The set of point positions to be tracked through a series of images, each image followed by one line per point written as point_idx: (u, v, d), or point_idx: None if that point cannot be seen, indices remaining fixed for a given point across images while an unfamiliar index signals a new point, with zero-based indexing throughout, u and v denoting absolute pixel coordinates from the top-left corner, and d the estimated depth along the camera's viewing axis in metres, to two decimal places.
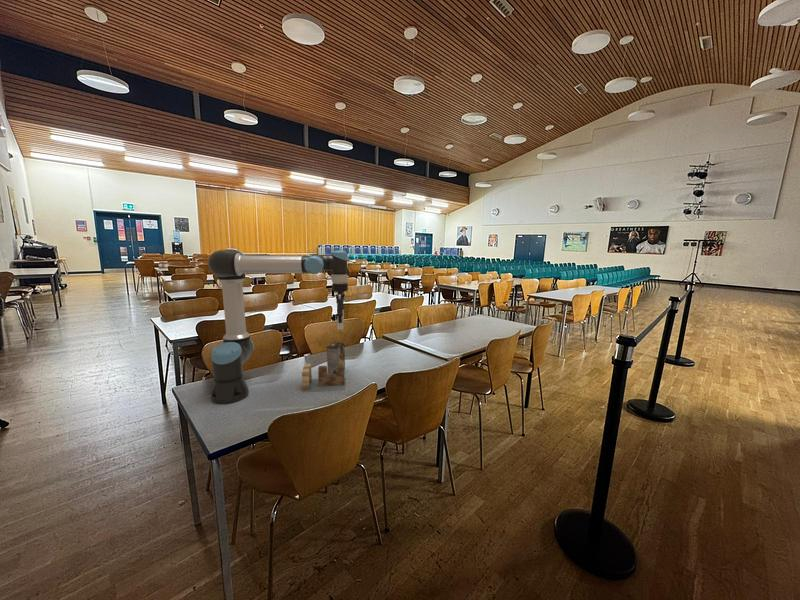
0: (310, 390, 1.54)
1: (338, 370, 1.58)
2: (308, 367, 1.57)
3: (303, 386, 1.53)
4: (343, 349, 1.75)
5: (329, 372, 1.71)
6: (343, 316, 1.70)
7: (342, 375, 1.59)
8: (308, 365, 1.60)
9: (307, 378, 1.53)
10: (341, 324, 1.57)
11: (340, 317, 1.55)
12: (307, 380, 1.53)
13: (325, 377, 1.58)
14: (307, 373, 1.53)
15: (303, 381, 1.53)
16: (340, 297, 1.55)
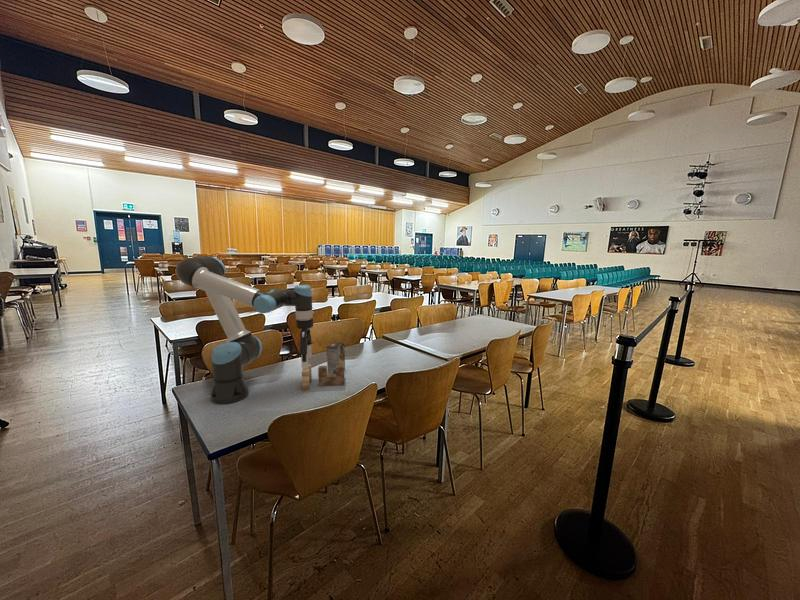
0: (310, 390, 1.54)
1: (338, 370, 1.58)
2: (308, 367, 1.57)
3: (303, 386, 1.53)
4: (343, 349, 1.75)
5: (329, 372, 1.71)
6: (311, 351, 1.63)
7: (342, 375, 1.59)
8: (308, 365, 1.60)
9: (307, 378, 1.53)
10: (306, 363, 1.49)
11: (304, 356, 1.48)
12: (307, 380, 1.53)
13: (325, 377, 1.58)
14: (307, 373, 1.53)
15: (303, 381, 1.53)
16: (304, 335, 1.47)
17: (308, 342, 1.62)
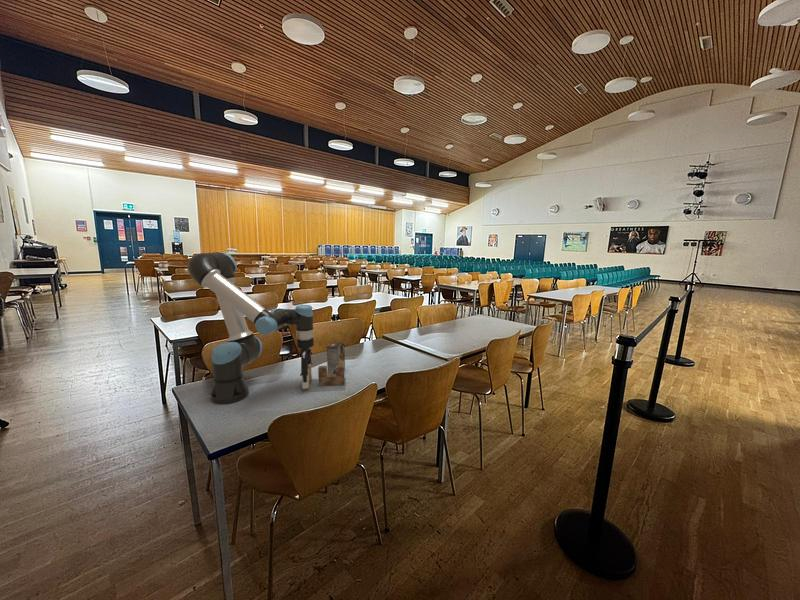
0: (310, 390, 1.54)
1: (338, 370, 1.58)
2: (308, 367, 1.57)
3: None
4: (343, 349, 1.75)
5: (329, 372, 1.71)
6: None
7: (342, 375, 1.59)
8: (308, 365, 1.60)
9: None
10: (306, 383, 1.53)
11: (305, 377, 1.51)
12: None
13: (325, 377, 1.58)
14: None
15: None
16: (304, 356, 1.49)
17: (308, 363, 1.62)
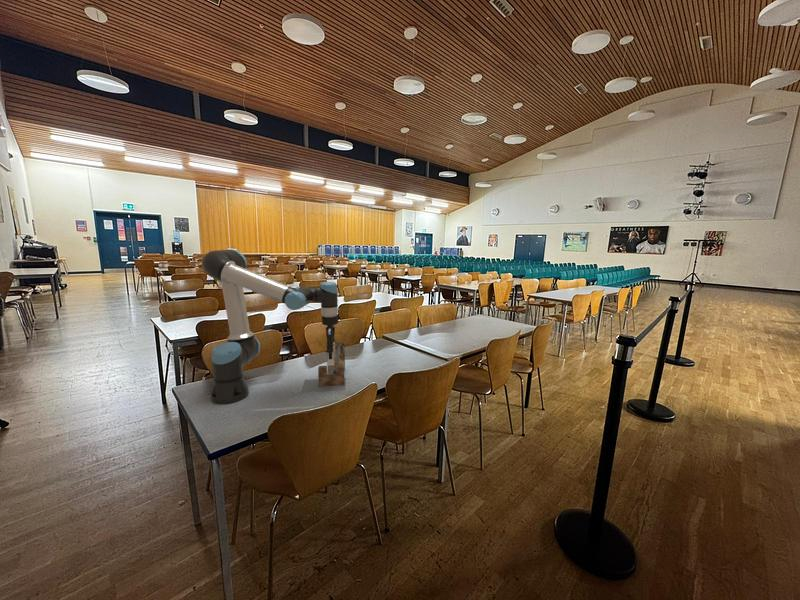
0: (310, 390, 1.54)
1: (338, 370, 1.58)
2: None
3: None
4: (343, 349, 1.75)
5: (329, 372, 1.71)
6: None
7: (342, 375, 1.59)
8: None
9: None
10: (331, 360, 1.52)
11: (330, 353, 1.50)
12: None
13: (325, 377, 1.58)
14: None
15: None
16: (330, 333, 1.49)
17: None
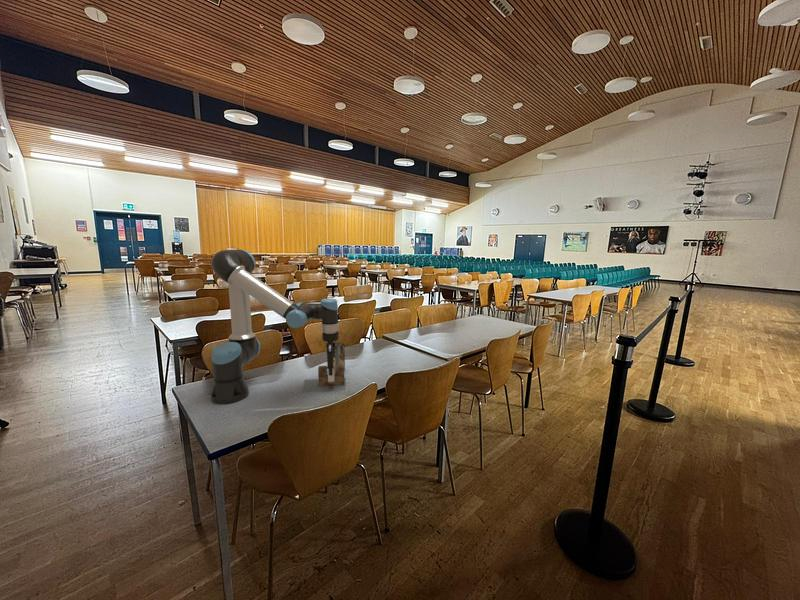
0: (310, 390, 1.54)
1: (338, 370, 1.58)
2: (333, 361, 1.58)
3: None
4: (343, 349, 1.75)
5: None
6: None
7: (342, 375, 1.59)
8: None
9: None
10: (332, 376, 1.54)
11: (331, 370, 1.52)
12: None
13: (325, 377, 1.58)
14: (333, 366, 1.54)
15: None
16: (330, 350, 1.50)
17: (332, 356, 1.63)
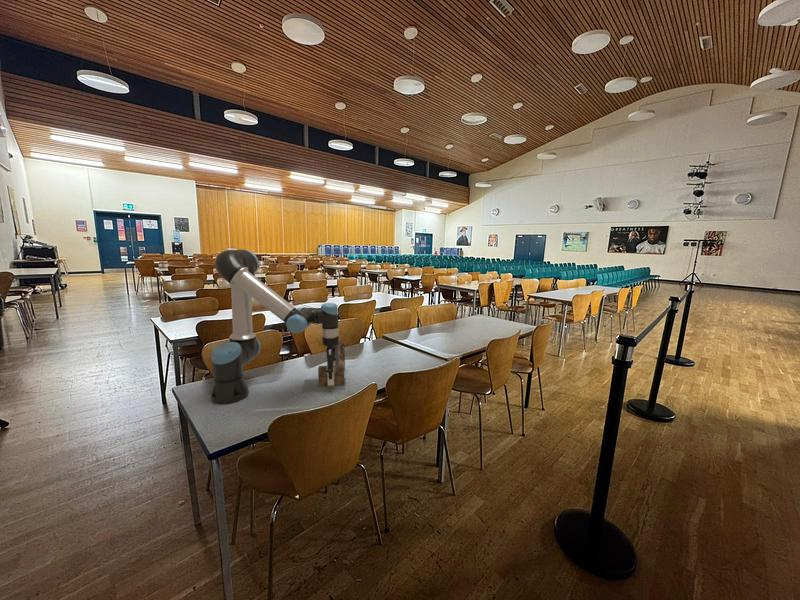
0: (310, 390, 1.54)
1: (338, 370, 1.58)
2: None
3: (329, 385, 1.55)
4: (343, 349, 1.75)
5: None
6: None
7: (342, 375, 1.59)
8: None
9: None
10: (331, 380, 1.53)
11: (330, 373, 1.51)
12: None
13: (325, 377, 1.58)
14: None
15: None
16: (330, 353, 1.51)
17: (332, 358, 1.65)
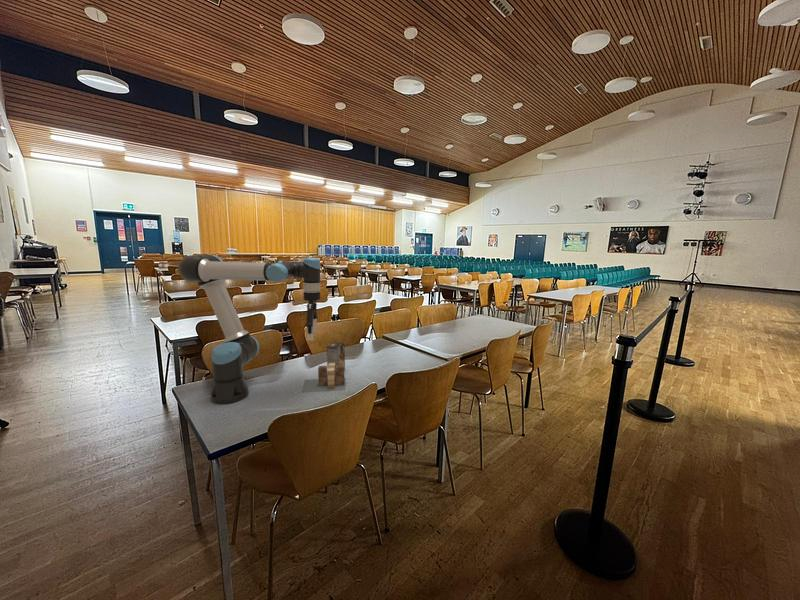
0: (310, 390, 1.54)
1: (338, 370, 1.58)
2: (332, 366, 1.59)
3: (329, 385, 1.55)
4: (343, 349, 1.75)
5: None
6: (316, 325, 1.63)
7: (342, 375, 1.59)
8: (332, 364, 1.62)
9: (333, 377, 1.55)
10: (311, 335, 1.50)
11: (310, 328, 1.48)
12: (332, 379, 1.55)
13: (325, 377, 1.58)
14: (333, 372, 1.54)
15: (329, 380, 1.55)
16: (310, 307, 1.48)
17: (314, 316, 1.62)
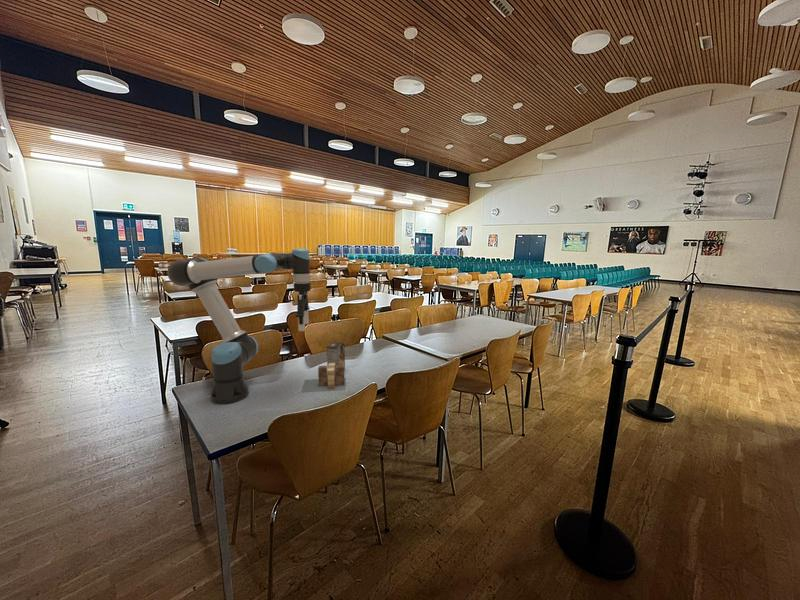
0: (310, 390, 1.54)
1: (338, 370, 1.58)
2: (332, 366, 1.59)
3: (329, 385, 1.55)
4: (343, 349, 1.75)
5: None
6: (308, 317, 1.64)
7: (342, 375, 1.59)
8: (332, 364, 1.62)
9: (333, 377, 1.55)
10: (302, 326, 1.50)
11: (301, 318, 1.48)
12: (332, 379, 1.55)
13: (325, 377, 1.58)
14: (333, 372, 1.54)
15: (329, 380, 1.55)
16: (301, 297, 1.48)
17: (305, 307, 1.63)
